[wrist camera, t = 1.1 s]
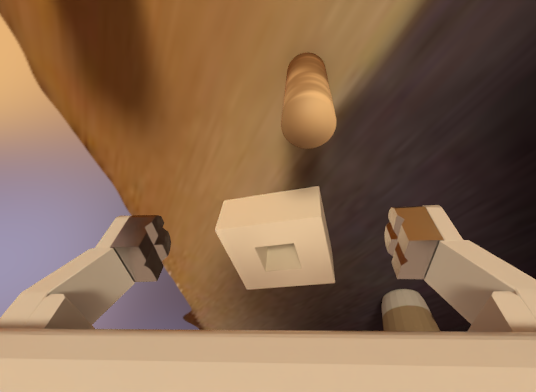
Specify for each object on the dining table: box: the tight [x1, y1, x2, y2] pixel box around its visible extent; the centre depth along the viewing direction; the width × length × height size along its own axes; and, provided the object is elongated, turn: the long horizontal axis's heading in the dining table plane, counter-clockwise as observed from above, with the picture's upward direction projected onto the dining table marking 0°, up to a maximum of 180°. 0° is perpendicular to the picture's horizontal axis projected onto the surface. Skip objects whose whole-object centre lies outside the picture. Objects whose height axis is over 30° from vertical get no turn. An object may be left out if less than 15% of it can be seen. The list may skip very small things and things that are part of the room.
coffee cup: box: [381, 289, 440, 331], centre depth 49 cm, size 11×11×15 cm
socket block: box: [215, 186, 335, 290], centre depth 43 cm, size 14×14×6 cm
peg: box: [281, 53, 336, 148], centre depth 26 cm, size 4×4×12 cm
